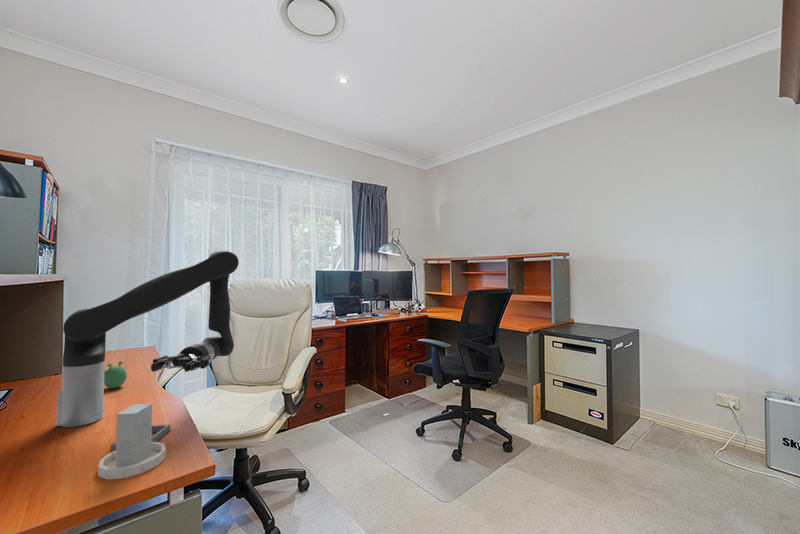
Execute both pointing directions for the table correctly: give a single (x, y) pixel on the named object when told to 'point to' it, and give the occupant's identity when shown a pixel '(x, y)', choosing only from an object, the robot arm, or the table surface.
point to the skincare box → (133, 434)
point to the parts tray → (155, 428)
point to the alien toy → (114, 376)
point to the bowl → (110, 470)
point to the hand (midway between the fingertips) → (169, 368)
